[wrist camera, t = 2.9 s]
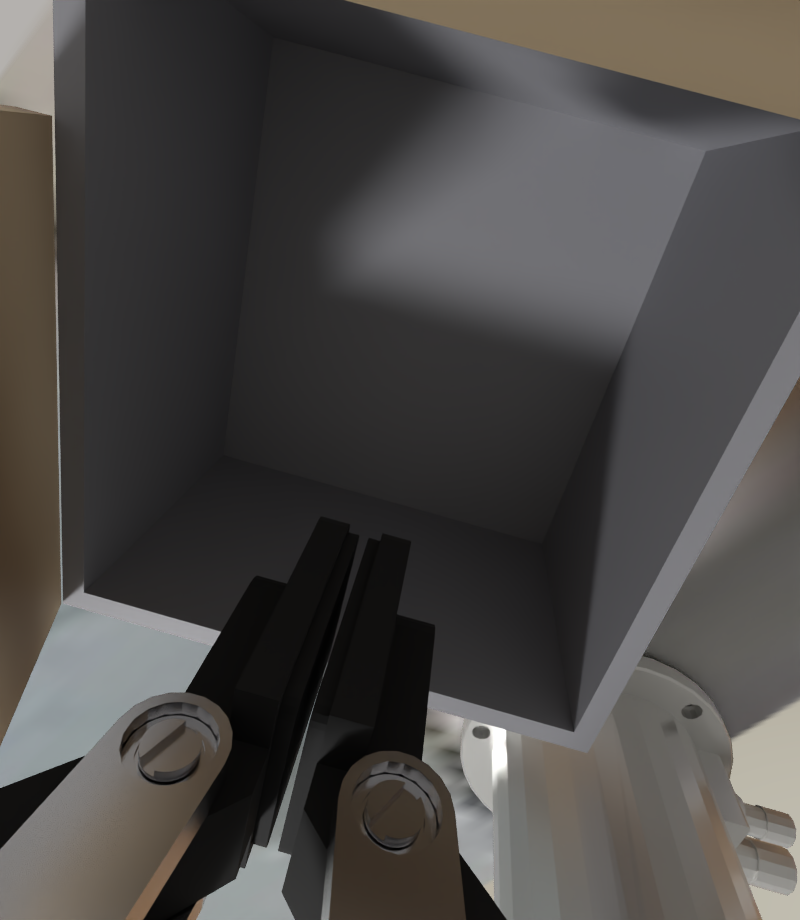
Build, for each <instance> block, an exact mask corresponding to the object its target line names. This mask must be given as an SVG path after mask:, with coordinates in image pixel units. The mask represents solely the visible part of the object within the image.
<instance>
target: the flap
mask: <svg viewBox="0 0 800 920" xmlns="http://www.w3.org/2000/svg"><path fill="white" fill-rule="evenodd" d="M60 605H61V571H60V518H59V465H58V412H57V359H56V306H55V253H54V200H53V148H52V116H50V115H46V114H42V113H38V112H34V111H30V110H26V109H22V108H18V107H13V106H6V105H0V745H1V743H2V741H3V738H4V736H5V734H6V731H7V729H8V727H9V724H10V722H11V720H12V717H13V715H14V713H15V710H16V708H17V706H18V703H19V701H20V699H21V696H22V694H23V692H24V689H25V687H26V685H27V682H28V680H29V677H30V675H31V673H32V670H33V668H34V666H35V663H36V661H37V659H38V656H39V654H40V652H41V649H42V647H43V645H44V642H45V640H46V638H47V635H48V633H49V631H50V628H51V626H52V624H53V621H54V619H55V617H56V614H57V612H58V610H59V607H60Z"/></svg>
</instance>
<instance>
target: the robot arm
mask: <svg viewBox="0 0 800 920" xmlns="http://www.w3.org/2000/svg"><path fill="white" fill-rule="evenodd" d="M349 530H350V524H348V523H344V522H341V521H337V520H333V519H330V518H326V517H323V516H321V517H320V518H319V520H318V522H317V524H316V526H315V528H314V530H313V532H312V534H311V536H310V538H309V540H308V542H307V544H306V546H305V548H304V550H303V552H302V554H301V556H300V558H299V560H298V562H297V564H296V566H295V568H294V570H293V572H292V574H291V576H290V579H289V581H288V583H287V584H286V583H283V582H279V581H275V580H272V579H268V578H265V577H261V576H255V577H254V578H253V580H252V581H251V582H250V584H249V586H248V587H247V589H246V591H245V592H244V594H243V596H242V597H241V599H240V601H239V602H238V604H237V606H236V608H235V609H234V611H233V613H232V614H231V616H230V618H229V619H228V621H227V623H226V624H225V626H224V628H223V630H222V631H221V633H220V635H219V636H218V638H217V640H216V641H215V643H214V645H213V646H212V648H211V650H210V652H209V653H208V655H207V657H206V658H205V660H204V662H203V663H202V665H201V667H200V668H199V670H198V672H197V673H196V675H195V677H194V679H193V680H192V682H191V684H190V685H189V687H188V689H187V690H186V692H185V693H166V694H162V695H158V696H153V697H151V698H149V699H147V700H145V701H142V702H140V703H138V704H136V705H134V706H133V707H132V708H131V709H130V710H129V711H127V712H126V713H125V714H124V715H123V716H121V717H120V718H119V719H118V720H117V722H116V723H115V724H114V725H113V726H112V727H111V728H110V729H109V730H108V731H107V733H106V734H105V735H104V736H103V737H102V738H101V739H100V740H99V741H98V742H97V744H96V745H95V746H94V747H93V748H92V749H91V750H90V751H89V752H88V753H87V755H86V756H83V757H81V758H78V759H75V760H73V761H70V762H67V763H65V764H62V765H60V766H57V767H54V768H52V769H49V770H47V771H44V772H41V773H39V774H36V775H34V776H31V777H28V778H26V779H23V780H21V781H18V782H15V783H13V784H10V785H7V786H5V787H2V788H0V920H196V919H197V917H198V915H199V913H200V912H201V910H202V907H203V904H204V902H205V899H206V897H207V895H209V894H211V893H212V892H214V891H216V890H217V889H219V888H221V887H223V886H224V885H226V884H228V883H229V882H231V881H233V880H234V879H236V876H237V873H238V871H239V868H240V867H242V868H245V866H246V863H247V861H248V858H249V855H250V852H251V849H252V846H253V844H256V845H259V846H263V847H267V845H268V842H269V840H270V837H271V834H272V831H273V828H274V824H275V821H276V818H277V815H278V812H279V809H280V806H281V803H282V800H283V797H284V794H285V791H286V788H287V785H288V782H289V779H290V776H291V773H292V769H293V766H294V763H295V760H296V757H297V754H298V751H299V748H300V745H301V742H302V739H303V736H304V733H305V730H306V727H307V724H308V721H309V717H310V714H311V711H312V708H313V705H314V702H315V705H314V708H313V712H312V715H311V719H310V723H309V726H308V731H307V735H306V739H305V743H304V747H303V751H302V755H301V759H300V763H299V767H298V771H297V775H296V780H295V784H294V788H293V792H292V796H291V800H290V804H289V808H288V812H287V816H286V820H285V824H284V829H283V833H282V837H281V841H280V845H279V849H278V851H280V852H284V853H287V854H291V859H290V863H289V866H288V870H287V874H286V878H285V882H284V885H283V889H282V894H283V896H284V898H285V900H286V902H287V904H288V906H289V908H290V910H291V912H292V914H293V916H294V919H295V920H762V918H761V915H760V913H759V910H758V907H757V905H756V903H755V900H754V897H753V894H752V892H751V890H750V887H749V885H752V886H756V887H759V888H762V889H766V890H769V891H773V892H777V893H780V894H784V895H789V894H790V893H792V892H793V891H794V889H795V886H796V883H797V869H796V865H795V862H794V859H793V857H792V856H791V854H790V853H789V851H788V850H787V849H785V848H789V847H791V846H793V844H794V841H795V839H796V828H795V825H794V822H793V820H792V818H791V817H790V816H789V815H788V814H786V813H783V812H779V811H776V810H772V809H769V808H765V807H762V806H758V805H755V806H753V805H749V804H745V803H743V801H742V799H741V798H740V797H739V796H738V795H737V794H736V793H735V792H734V790H733V787H732V785H731V782H730V780H729V779H730V774H731V769H732V763H733V753H732V743H731V739H730V737H729V734H728V732H727V729H726V727H725V724H724V722H723V720H722V717H721V716H720V714H719V712H718V710H717V708H716V707H715V705H714V703H713V701H712V700H711V699H710V698H709V697H708V696H707V694H706V693H705V692H704V691H703V690H702V689H701V688H700V687H699V686H698V685H697V684H696V683H695V682H693V681H692V680H690V679H689V678H688V677H686V676H685V675H683V674H682V673H680V672H679V671H678V670H676V669H674V668H671V667H669V666H667V665H665V664H663V663H661V662H659V661H656V660H654V659H651V658H647V657H644V656H642V657H641V659H640V661H639V663H638V664H637V666H636V668H635V670H634V672H633V673H632V675H631V677H630V679H629V680H628V682H627V684H626V686H625V688H624V689H623V691H622V693H621V695H620V696H619V698H618V700H617V702H616V704H615V705H614V707H613V709H612V711H611V712H610V714H609V716H608V718H607V720H606V721H605V723H604V725H603V727H602V728H601V730H600V732H599V734H598V735H597V737H596V739H595V741H594V743H593V744H592V746H591V748H590V750H589V751H588V753H585V752H581V751H578V750H574V749H571V748H567V747H564V746H560V745H557V744H553V743H550V742H546V741H543V740H539V739H536V738H532V737H529V736H525V735H522V734H518V733H515V732H511V731H508V730H504V729H501V728H497V727H494V726H490V725H487V724H483V723H480V722H476V721H473V720H469V719H466V718H464V721H463V726H462V731H461V754H460V757H461V762H462V766H463V771H464V774H465V776H466V779H467V781H468V783H469V785H470V787H471V789H472V790H473V791H474V793H475V794H476V795H477V797H478V798H479V799H480V800H481V802H482V803H483V804H484V805H485V806H486V807H487V808H488V809H489V810H491V811H492V812H493V854H494V901H493V900H492V898H491V897H490V895H489V894H488V892H487V891H486V890H485V888H484V887H483V885H482V884H481V883H480V881H479V880H478V878H477V877H476V876H475V874H474V873H473V871H472V870H471V869H470V867H469V866H468V864H467V863H466V862H465V860H464V859H463V858H462V856H461V855H460V853H459V847H458V838H457V828H456V818H455V811H454V807H453V803H452V799H451V795H450V793H449V791H448V789H447V788H446V786H445V784H444V782H443V781H442V779H441V778H440V776H439V775H438V774H437V773H436V772H435V771H434V770H433V769H432V768H431V767H430V766H429V765H427V764H426V763H424V762H422V754H423V744H424V735H425V725H426V716H427V706H428V697H429V687H430V678H431V668H432V659H433V649H434V640H435V625H434V624H430V623H427V622H423V621H419V620H416V619H412V618H409V617H405V616H401V615H398V614H397V611H398V606H399V601H400V596H401V591H402V586H403V581H404V576H405V571H406V566H407V561H408V556H409V551H410V546H411V541H410V540H406V539H402V538H399V537H395V536H391V535H388V534H384V533H382V536H381V540H380V541H379V540H375V539H372V538H368V541H367V544H366V547H365V550H364V553H363V557H362V560H361V563H360V566H359V569H358V572H357V575H356V578H355V581H354V584H353V587H352V590H351V593H350V596H349V599H348V602H347V606H346V609H345V612H344V615H343V618H342V621H341V624H340V627H339V630H338V633H337V636H336V639H335V642H334V645H333V641H334V637H335V633H336V629H337V625H338V621H339V617H340V613H341V609H342V605H343V601H344V597H345V593H346V589H347V585H348V580H349V576H350V572H351V568H352V564H353V560H354V556H355V552H356V548H357V544H358V540H359V535H357V534H354V533H350V532H349ZM332 645H333V648H332ZM331 649H332V652H331ZM330 652H331V655H330ZM329 656H330V658H329ZM328 659H329V661H328ZM327 662H328V664H327ZM326 666H327V667H326ZM325 669H326V670H325ZM324 672H325V673H324ZM323 675H324V676H323ZM322 678H323V679H322ZM321 681H322V682H321ZM320 684H321V685H320ZM319 687H320V688H319ZM318 690H319V691H318ZM317 693H318V695H317ZM316 696H317V698H316ZM315 699H316V701H315ZM747 835H750V836H753V837H754V838H756V839H754V838H751V837H747ZM783 847H785V848H783Z"/></svg>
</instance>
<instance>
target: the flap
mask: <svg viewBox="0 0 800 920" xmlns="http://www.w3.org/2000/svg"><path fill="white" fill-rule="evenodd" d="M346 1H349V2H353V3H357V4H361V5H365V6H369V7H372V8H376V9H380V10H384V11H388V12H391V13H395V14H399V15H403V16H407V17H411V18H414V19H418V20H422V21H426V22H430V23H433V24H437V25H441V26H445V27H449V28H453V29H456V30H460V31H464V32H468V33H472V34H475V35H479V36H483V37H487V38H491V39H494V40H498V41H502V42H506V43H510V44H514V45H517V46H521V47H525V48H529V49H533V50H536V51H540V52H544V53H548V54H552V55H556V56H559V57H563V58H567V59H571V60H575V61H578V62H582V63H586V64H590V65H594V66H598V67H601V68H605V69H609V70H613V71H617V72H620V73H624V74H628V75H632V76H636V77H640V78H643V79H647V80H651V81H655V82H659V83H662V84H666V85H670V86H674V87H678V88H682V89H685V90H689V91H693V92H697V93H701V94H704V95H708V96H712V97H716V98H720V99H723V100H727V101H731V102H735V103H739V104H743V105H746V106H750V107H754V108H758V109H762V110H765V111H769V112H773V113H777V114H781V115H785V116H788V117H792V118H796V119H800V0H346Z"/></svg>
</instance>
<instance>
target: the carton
mask: <svg viewBox="0 0 800 920" xmlns="http://www.w3.org/2000/svg"><path fill="white" fill-rule="evenodd" d="M53 36H54V95H55V154H56V213H57V272H58V331H59V389H60V448H61V507H62V566H63V604H67V605H70V606H74V607H77V608H81V609H84V610H88V611H91V612H95V613H98V614H102V615H105V616H109V617H112V618H116V619H119V620H123V621H126V622H130V623H133V624H137V625H140V626H144V627H147V628H151V629H154V630H158V631H161V632H165V633H168V634H172V635H175V636H179V637H182V638H186V639H189V640H193V641H196V642H200V643H203V644H207V645H210V646H213V645H214V643H215V641H216V640H217V638H218V636H219V635H220V633H221V631H222V630H223V628H224V626H225V624H226V623H227V621H228V619H229V618H230V616H231V614H232V613H233V611H234V609H235V608H236V606H237V604H238V602H239V601H240V599H241V597H242V596H243V594H244V592H245V591H246V589H247V587H248V586H249V584H250V582H251V581H252V580H253V578H254V577H255V576H261V577H265V578H268V579H272V580H275V581H279V582H283V583H286V584H287V583H288V581H289V579H290V576H291V574H292V572H293V570H294V568H295V566H296V564H297V562H298V560H299V558H300V556H301V554H302V552H303V550H304V548H305V546H306V544H307V542H308V540H309V538H310V536H311V534H312V532H313V530H314V528H315V526H316V524H317V522H318V520H319V518H320V517H321V516H323V517H326V518H330V519H333V520H337V521H341V522H344V523H348V524H350V530H349V532H350V533H354V534H357V535H359V540H358V544H357V548H356V552H355V556H354V560H353V564H352V568H351V572H350V576H349V580H348V585H347V589H346V593H345V597H344V601H343V605H342V609H341V613H340V617H339V621H338V625H337V629H336V633H335V637H334V641H333V645H334V642H335V639H336V636H337V633H338V630H339V627H340V624H341V621H342V618H343V615H344V612H345V609H346V606H347V602H348V599H349V596H350V593H351V590H352V587H353V584H354V581H355V578H356V575H357V572H358V569H359V566H360V563H361V560H362V557H363V553H364V550H365V547H366V544H367V541H368V538H372V539H375V540H379V541H380V540H381V536H382V533H384V534H388V535H391V536H395V537H399V538H402V539H406V540H410V541H411V546H410V551H409V556H408V561H407V566H406V571H405V576H404V581H403V586H402V591H401V596H400V601H399V606H398V611H397V614H398V615H401V616H405V617H409V618H412V619H416V620H419V621H423V622H427V623H430V624H434V625H435V640H434V649H433V659H432V668H431V678H430V687H429V697H428V706H427V708H431V709H434V710H438V711H441V712H445V713H448V714H452V715H455V716H459V717H462V718H466V719H469V720H473V721H476V722H480V723H483V724H487V725H490V726H494V727H497V728H501V729H504V730H508V731H511V732H515V733H518V734H522V735H525V736H529V737H532V738H536V739H539V740H543V741H546V742H550V743H553V744H557V745H560V746H564V747H567V748H571V749H574V750H578V751H581V752H585V753H588V751H589V750H590V748H591V746H592V744H593V743H594V741H595V739H596V737H597V735H598V734H599V732H600V730H601V728H602V727H603V725H604V723H605V721H606V720H607V718H608V716H609V714H610V712H611V711H612V709H613V707H614V705H615V704H616V702H617V700H618V698H619V696H620V695H621V693H622V691H623V689H624V688H625V686H626V684H627V682H628V680H629V679H630V677H631V675H632V673H633V672H634V670H635V668H636V666H637V664H638V663H639V661H640V659H641V657H642V656H643V654H644V652H645V650H646V649H647V647H648V645H649V643H650V641H651V640H652V638H653V636H654V634H655V633H656V631H657V629H658V627H659V625H660V624H661V622H662V620H663V618H664V617H665V615H666V613H667V611H668V609H669V608H670V606H671V604H672V602H673V601H674V599H675V597H676V595H677V593H678V592H679V590H680V588H681V586H682V585H683V583H684V581H685V579H686V578H687V576H688V574H689V572H690V570H691V569H692V567H693V565H694V563H695V562H696V560H697V558H698V556H699V554H700V553H701V551H702V549H703V547H704V546H705V544H706V542H707V540H708V538H709V537H710V535H711V533H712V531H713V530H714V528H715V526H716V524H717V522H718V521H719V519H720V517H721V515H722V514H723V512H724V510H725V508H726V507H727V505H728V503H729V501H730V499H731V498H732V496H733V494H734V492H735V491H736V489H737V487H738V485H739V483H740V482H741V480H742V478H743V476H744V475H745V473H746V471H747V469H748V467H749V466H750V464H751V462H752V460H753V459H754V457H755V455H756V453H757V451H758V450H759V448H760V446H761V444H762V443H763V441H764V439H765V437H766V436H767V434H768V432H769V430H770V428H771V427H772V425H773V423H774V421H775V420H776V418H777V416H778V414H779V412H780V411H781V409H782V407H783V405H784V404H785V402H786V400H787V398H788V396H789V395H790V393H791V391H792V389H793V388H794V386H795V384H796V382H797V380H798V379H799V377H800V119H796V118H792V117H788V116H785V115H781V114H777V113H773V112H769V111H765V110H762V109H758V108H754V107H750V106H746V105H743V104H739V103H735V102H731V101H727V100H723V99H720V98H716V97H712V96H708V95H704V94H701V93H697V92H693V91H689V90H685V89H682V88H678V87H674V86H670V85H666V84H662V83H659V82H655V81H651V80H647V79H643V78H640V77H636V76H632V75H628V74H624V73H620V72H617V71H613V70H609V69H605V68H601V67H598V66H594V65H590V64H586V63H582V62H578V61H575V60H571V59H567V58H563V57H559V56H556V55H552V54H548V53H544V52H540V51H536V50H533V49H529V48H525V47H521V46H517V45H514V44H510V43H506V42H502V41H498V40H494V39H491V38H487V37H483V36H479V35H475V34H472V33H468V32H464V31H460V30H456V29H453V28H449V27H445V26H441V25H437V24H433V23H430V22H426V21H422V20H418V19H414V18H411V17H407V16H403V15H399V14H395V13H391V12H388V11H384V10H380V9H376V8H372V7H369V6H365V5H361V4H357V3H353V2H349V1H346V0H53ZM333 645H332V648H333ZM331 652H332V649H331ZM331 652H330V655H331ZM329 658H330V656H329ZM328 661H329V659H328ZM327 664H328V662H327ZM326 667H327V666H326ZM325 670H326V669H325ZM324 673H325V672H324ZM323 676H324V675H323Z"/></svg>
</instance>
